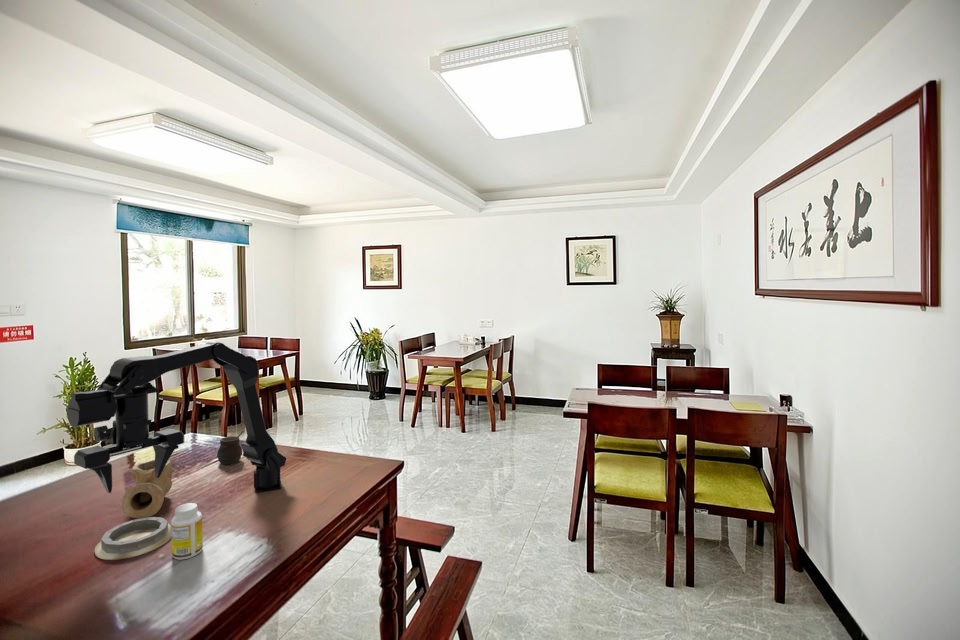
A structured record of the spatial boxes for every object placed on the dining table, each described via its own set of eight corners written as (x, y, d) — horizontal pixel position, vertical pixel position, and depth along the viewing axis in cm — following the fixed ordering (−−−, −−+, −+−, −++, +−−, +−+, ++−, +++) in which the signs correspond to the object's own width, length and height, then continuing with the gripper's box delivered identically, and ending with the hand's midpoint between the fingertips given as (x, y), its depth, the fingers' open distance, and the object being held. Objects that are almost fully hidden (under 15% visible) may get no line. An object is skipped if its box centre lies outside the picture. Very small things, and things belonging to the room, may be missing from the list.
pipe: (119, 524, 107) (117, 483, 106) (136, 496, 121) (135, 460, 121) (164, 516, 111) (163, 477, 110) (176, 490, 125) (175, 455, 125)
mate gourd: (214, 461, 146) (214, 431, 146) (239, 456, 151) (239, 427, 151) (219, 468, 141) (219, 437, 140) (246, 462, 146) (246, 432, 145)
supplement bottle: (197, 543, 99) (196, 498, 99) (206, 552, 96) (205, 506, 95) (168, 553, 95) (166, 507, 95) (176, 564, 92) (175, 516, 91)
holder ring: (178, 520, 109) (178, 509, 109) (167, 550, 96) (167, 538, 96) (106, 532, 103) (106, 521, 103) (84, 566, 90) (84, 554, 90)
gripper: (160, 401, 110) (161, 463, 111) (61, 420, 94) (64, 492, 95) (185, 408, 105) (186, 473, 105) (85, 428, 88) (87, 505, 89)
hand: (134, 484), depth 99 cm, fingers open, 9 cm apart
